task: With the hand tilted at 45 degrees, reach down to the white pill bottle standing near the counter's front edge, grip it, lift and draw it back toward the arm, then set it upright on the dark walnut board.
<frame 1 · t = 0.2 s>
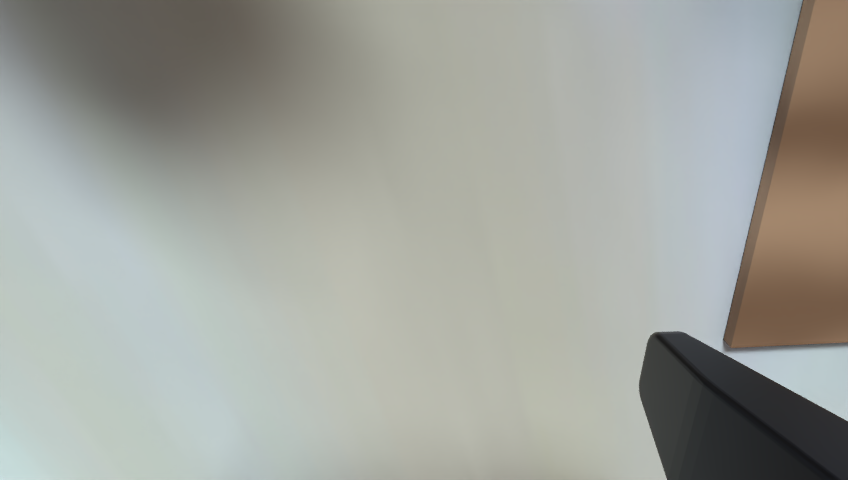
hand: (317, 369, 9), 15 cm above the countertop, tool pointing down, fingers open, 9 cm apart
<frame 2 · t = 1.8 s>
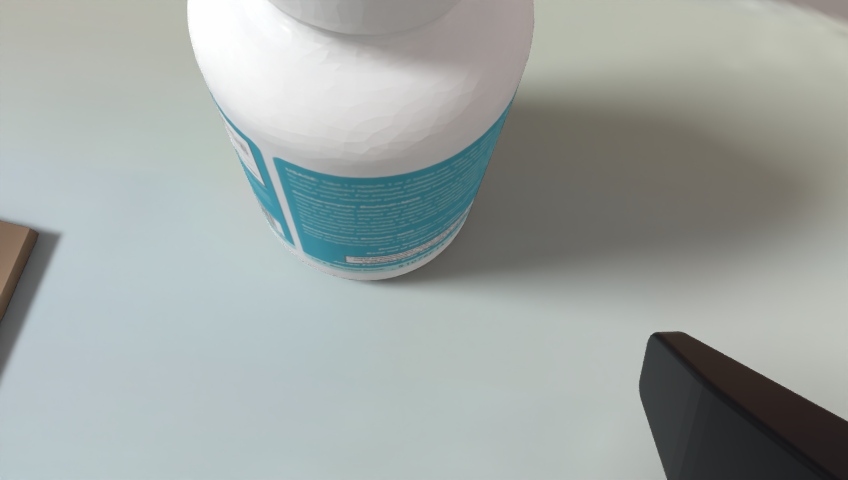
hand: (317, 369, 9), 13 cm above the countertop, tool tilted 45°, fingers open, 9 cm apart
pill bottle: (366, 185, 24), on the countertop
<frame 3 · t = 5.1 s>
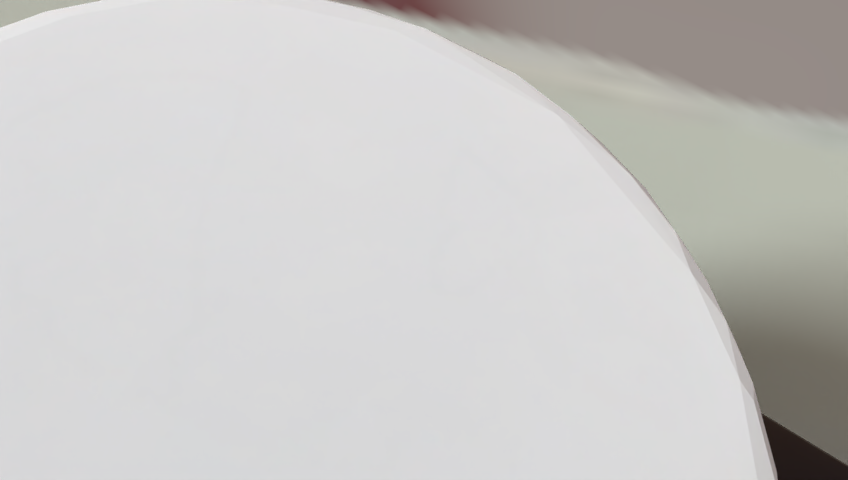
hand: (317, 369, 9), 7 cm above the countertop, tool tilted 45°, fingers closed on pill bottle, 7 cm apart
pill bottle: (339, 475, 15), on the countertop, touching gripper
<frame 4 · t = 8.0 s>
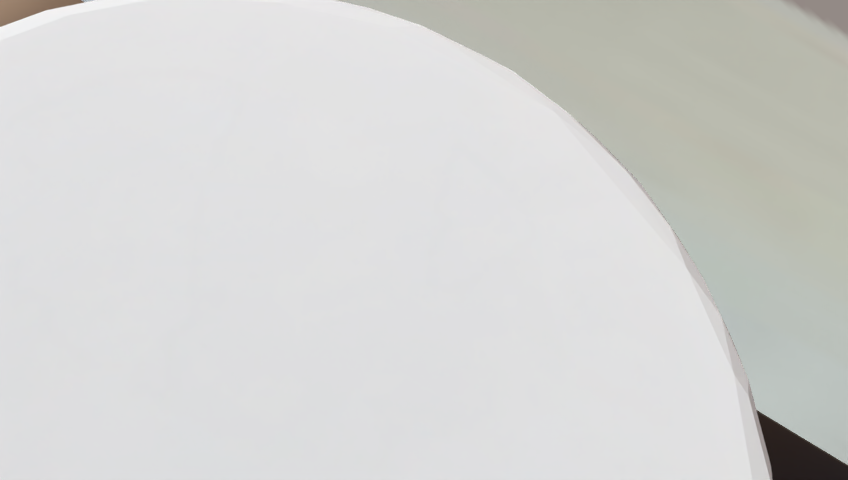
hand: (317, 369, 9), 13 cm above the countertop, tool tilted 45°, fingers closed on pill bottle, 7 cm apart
pill bottle: (344, 472, 15), point 6 cm above the countertop, touching gripper
walnut board: (86, 231, 23), on the countertop
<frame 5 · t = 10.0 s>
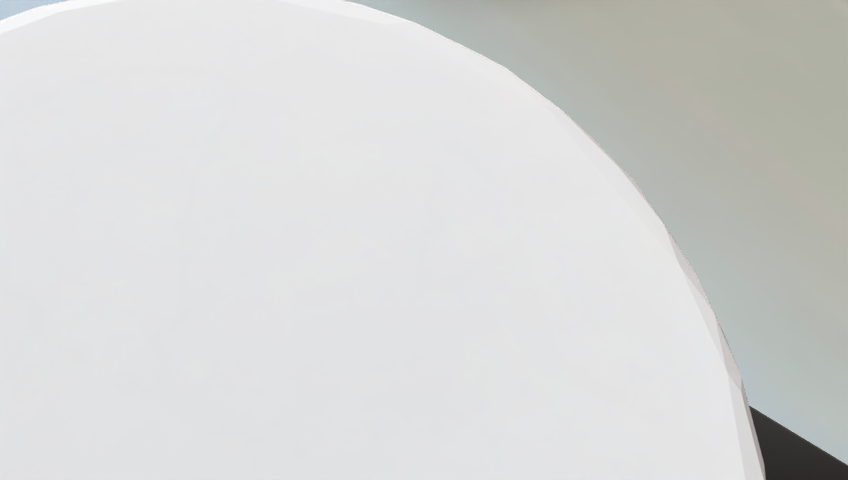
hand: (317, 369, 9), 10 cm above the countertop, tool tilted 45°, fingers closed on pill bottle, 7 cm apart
pill bottle: (343, 472, 15), point 3 cm above the countertop, touching gripper
when the fingers open (9 cm above the countertop, at t = 11.4 s): pill bottle drops 1 cm, resting on walnut board.
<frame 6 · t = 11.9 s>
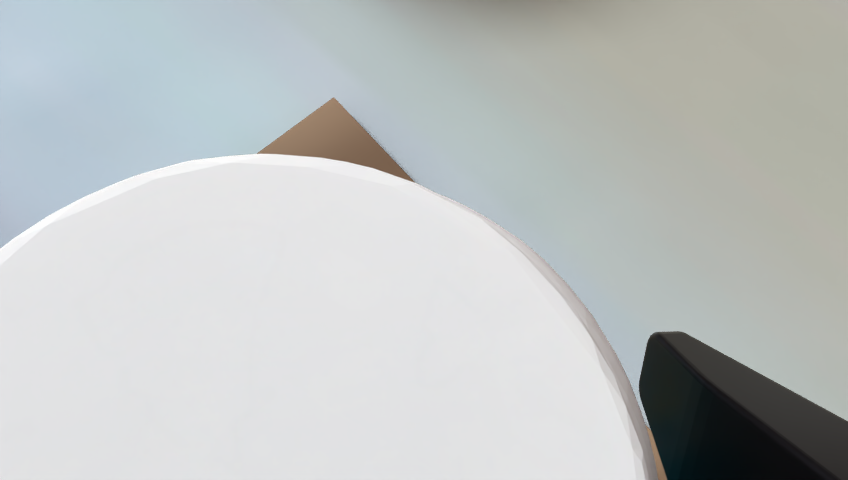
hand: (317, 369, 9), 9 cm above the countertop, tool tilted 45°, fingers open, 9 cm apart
walnut board: (341, 474, 17), on the countertop
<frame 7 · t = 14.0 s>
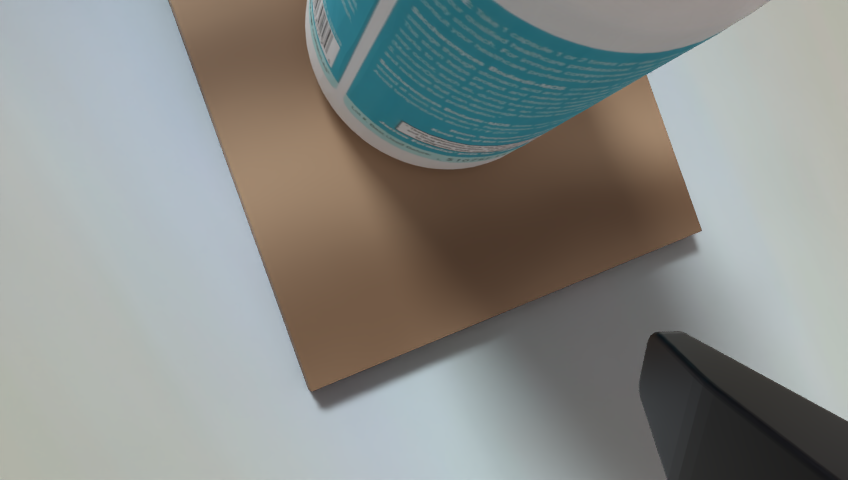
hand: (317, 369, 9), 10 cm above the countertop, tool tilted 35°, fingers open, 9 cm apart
pill bottle: (429, 49, 20), resting on walnut board
walnut board: (425, 47, 20), on the countertop
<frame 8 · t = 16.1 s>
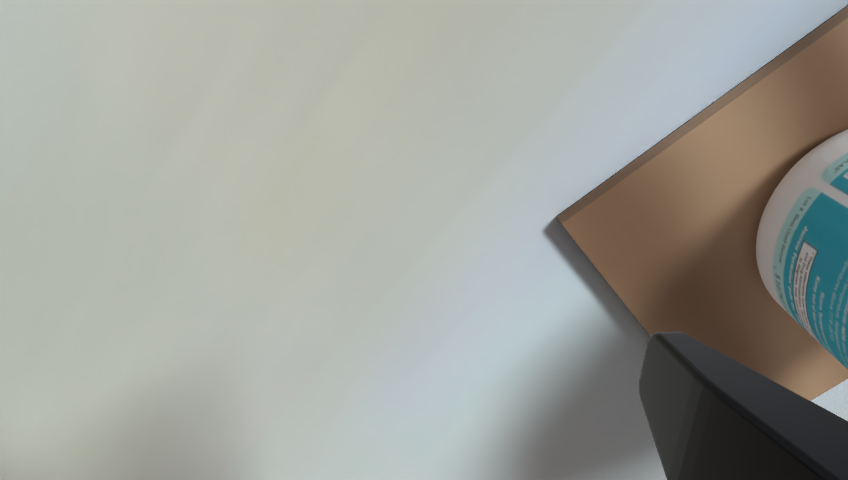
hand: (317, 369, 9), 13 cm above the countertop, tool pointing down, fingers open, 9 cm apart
walnut board: (847, 208, 24), on the countertop
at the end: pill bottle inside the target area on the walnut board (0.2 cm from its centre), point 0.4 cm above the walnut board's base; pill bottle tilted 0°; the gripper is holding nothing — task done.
